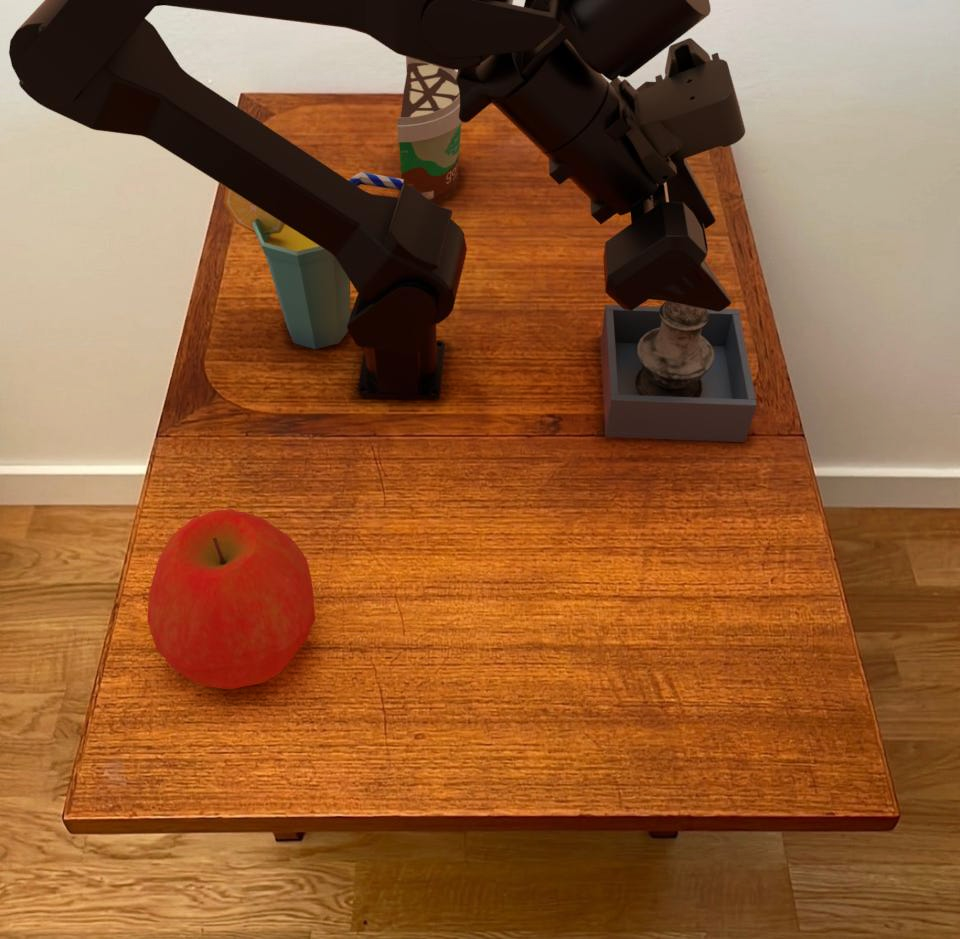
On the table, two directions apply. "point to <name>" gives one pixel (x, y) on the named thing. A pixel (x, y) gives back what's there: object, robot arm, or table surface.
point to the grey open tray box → (678, 418)
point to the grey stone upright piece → (675, 353)
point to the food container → (430, 129)
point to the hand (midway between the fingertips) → (717, 263)
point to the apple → (230, 600)
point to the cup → (304, 270)
